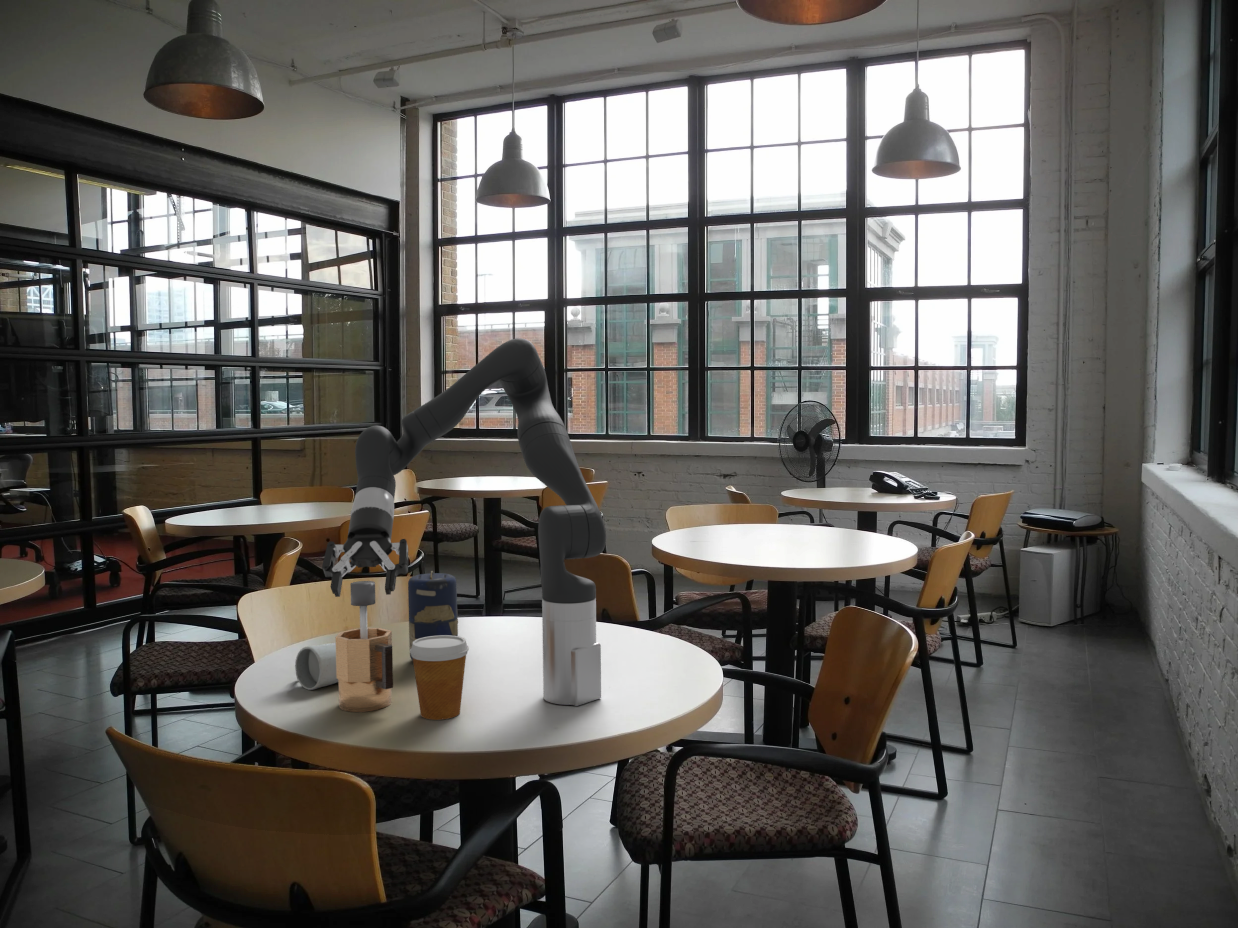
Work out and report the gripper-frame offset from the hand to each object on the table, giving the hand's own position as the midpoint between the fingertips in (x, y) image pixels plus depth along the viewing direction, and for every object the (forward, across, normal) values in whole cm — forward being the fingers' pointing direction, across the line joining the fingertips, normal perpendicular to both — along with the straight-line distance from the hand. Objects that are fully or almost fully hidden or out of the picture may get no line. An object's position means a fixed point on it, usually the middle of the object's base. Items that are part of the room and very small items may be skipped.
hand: (362, 593), depth 160 cm
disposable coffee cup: (+19, -13, -8) cm, 25 cm away
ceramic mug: (+5, +11, -22) cm, 25 cm away
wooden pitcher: (+15, -1, -12) cm, 19 cm away
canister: (-5, -8, -32) cm, 33 cm away
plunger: (+10, 0, -8) cm, 13 cm away
